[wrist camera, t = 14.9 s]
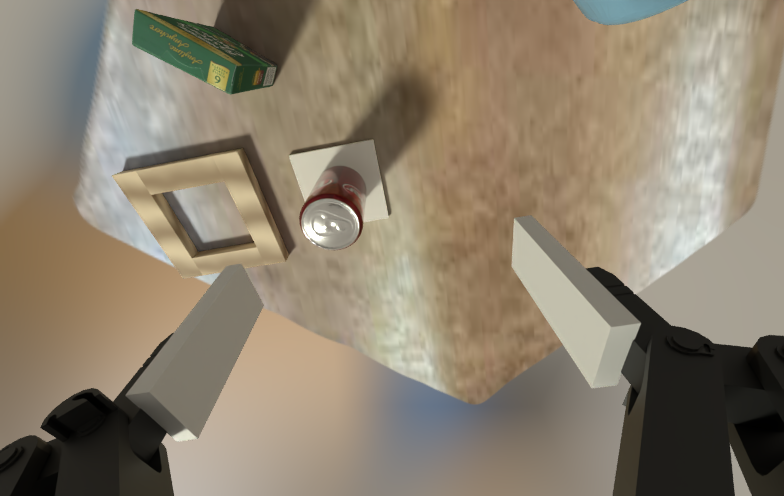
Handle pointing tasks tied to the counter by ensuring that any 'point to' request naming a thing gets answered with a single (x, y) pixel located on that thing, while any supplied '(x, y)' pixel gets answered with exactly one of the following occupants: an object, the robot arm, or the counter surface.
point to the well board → (208, 169)
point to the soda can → (335, 209)
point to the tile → (349, 155)
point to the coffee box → (202, 52)
